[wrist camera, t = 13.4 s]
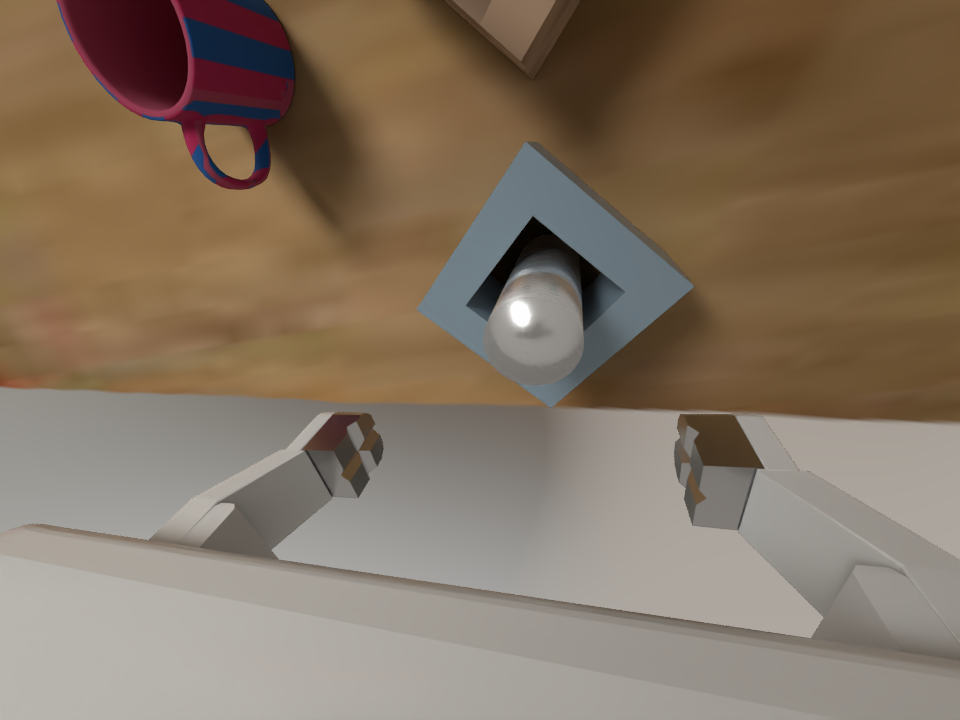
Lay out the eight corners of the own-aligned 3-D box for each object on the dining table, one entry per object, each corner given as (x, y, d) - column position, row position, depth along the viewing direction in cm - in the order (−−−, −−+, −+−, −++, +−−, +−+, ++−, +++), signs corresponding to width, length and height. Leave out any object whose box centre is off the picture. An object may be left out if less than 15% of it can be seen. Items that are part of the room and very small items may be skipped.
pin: (544, 220, 22) (524, 275, 13) (593, 260, 23) (606, 340, 13) (506, 270, 24) (465, 347, 15) (551, 305, 25) (538, 401, 16)
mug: (271, -30, 19) (140, -106, 13) (325, 180, 24) (247, 192, 18) (173, -9, 20) (17, -68, 15) (243, 185, 25) (147, 197, 20)
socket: (537, 142, 20) (525, 141, 15) (666, 253, 21) (694, 286, 16) (447, 277, 25) (416, 309, 20) (555, 358, 27) (550, 408, 22)
